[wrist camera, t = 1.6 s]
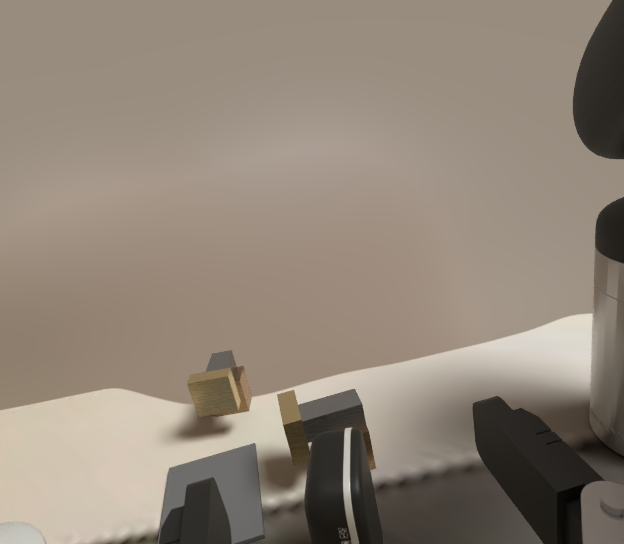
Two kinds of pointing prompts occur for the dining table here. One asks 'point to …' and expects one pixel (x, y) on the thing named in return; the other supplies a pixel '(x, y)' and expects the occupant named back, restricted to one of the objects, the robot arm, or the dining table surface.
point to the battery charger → (341, 491)
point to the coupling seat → (224, 489)
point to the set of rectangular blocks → (296, 418)
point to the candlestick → (20, 533)
